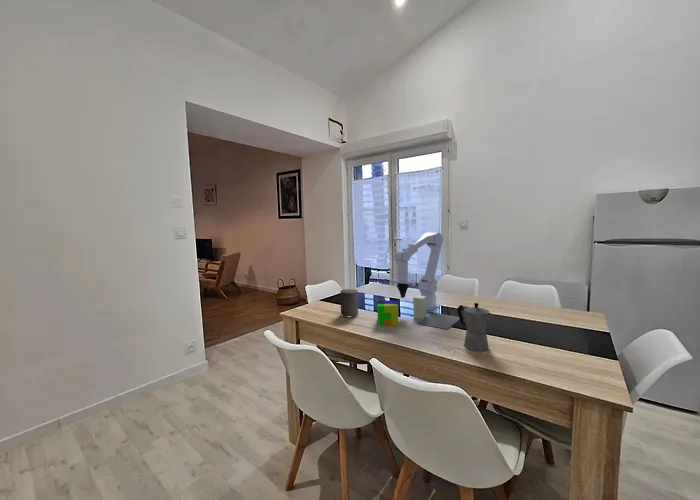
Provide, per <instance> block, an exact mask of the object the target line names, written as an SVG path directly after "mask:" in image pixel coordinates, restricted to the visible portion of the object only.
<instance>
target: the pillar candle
mask: <svg viewBox="0 0 700 500" xmlns="http://www.w3.org/2000/svg"><path fill="white" fill-rule="evenodd" d="M358 296H359V290H357V289H356V288H355V289H354V288H344V289H341V290H340V315H341V314H342V315H343V316H356V315H358V316H359V297H358ZM356 317H357V316H356Z"/></svg>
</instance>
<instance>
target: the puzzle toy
mask: <svg viewBox="0 0 700 500" xmlns="http://www.w3.org/2000/svg"><path fill="white" fill-rule="evenodd" d="M376 308H377V326H378V325H380V326H383V327H384V326H386V327H388V326H390V327H391V326H392V327H393V326H399V303H398V301H397V300H377V307H376Z"/></svg>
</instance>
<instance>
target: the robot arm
mask: <svg viewBox="0 0 700 500" xmlns="http://www.w3.org/2000/svg"><path fill="white" fill-rule="evenodd" d="M443 241H444V237H443V234H442V233H440V232H427V231H426V232H424V233H423V234H422V235H421V237H420V238H419V239H417V241H415V242H414V243H413V242H411V243H408V244H407V245H406V246H405V247H403V248H402V249H401V250H398V251H396V253H395V255H394V260H395V261H396V266H397V267H396V270H397V271H396V274H397V275H396V277H397V278H396V279H394V278H393V279H390V280H389V281H390V282H389V283H390V284H396V288H397V289H398V291H399V294H400V298H402V299H405V298H406V294H407V291H408V289H409V286H412V287H415V286H417V288H418V290H419V293H420V296H426V311H433V310H434V309H436V308H438V305H437V295H436V292H437V289H438V281H437V279H436V278H435V276H436V271H437V268H438V265H439V260H440V255H441V250H442V245H443ZM424 245H427V247H428V248H429V249H430V252H429V255H428V261H427V265H426V268H425V269H426V270H425V274H424V275H423V276H422V277H421V278H420V280H419V281H418V284H417V283H416V281H413V280H409V263H408V262H410V259H411V257H412V256H414V254H416V253H417V252H418V249H420V248H421V247H422V246H424Z"/></svg>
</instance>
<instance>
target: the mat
mask: <svg viewBox="0 0 700 500" xmlns="http://www.w3.org/2000/svg"><path fill="white" fill-rule="evenodd" d="M458 322H460V319H459V316H454V315H449V314H443V313H437V312H433V313H431V314H430V315H427V317H426V318H424V319H421V320H420V321H418V322H417V325H422V326H426V327H432V328H435V329H441V330H445V331H446V330H449V329H450V328H452V327H453V326H454V325H455V324H457V323H458Z"/></svg>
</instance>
